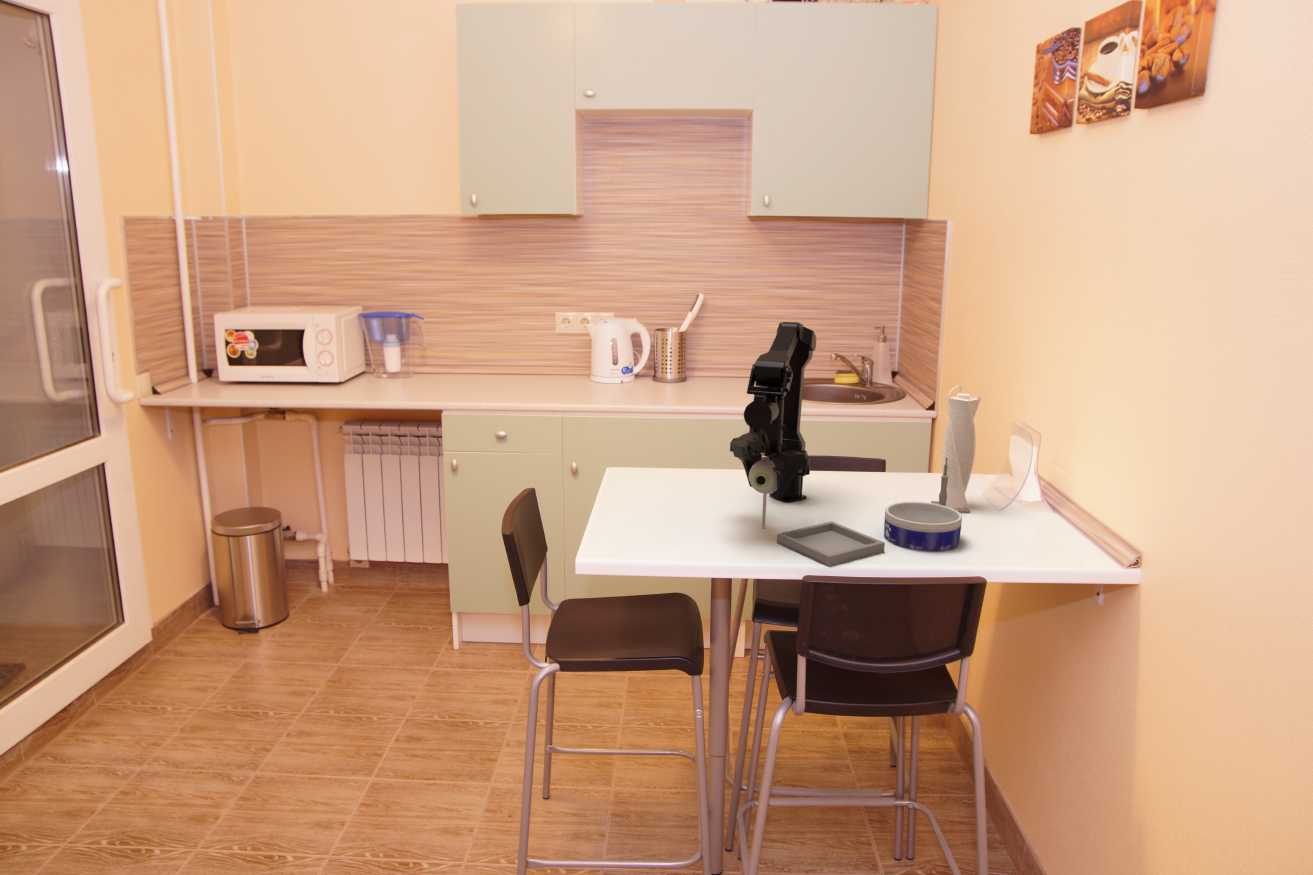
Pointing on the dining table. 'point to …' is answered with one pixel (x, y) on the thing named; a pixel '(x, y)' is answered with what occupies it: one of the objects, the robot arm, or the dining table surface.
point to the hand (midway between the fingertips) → (765, 491)
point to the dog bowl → (922, 526)
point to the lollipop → (763, 481)
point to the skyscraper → (958, 451)
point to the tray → (830, 543)
